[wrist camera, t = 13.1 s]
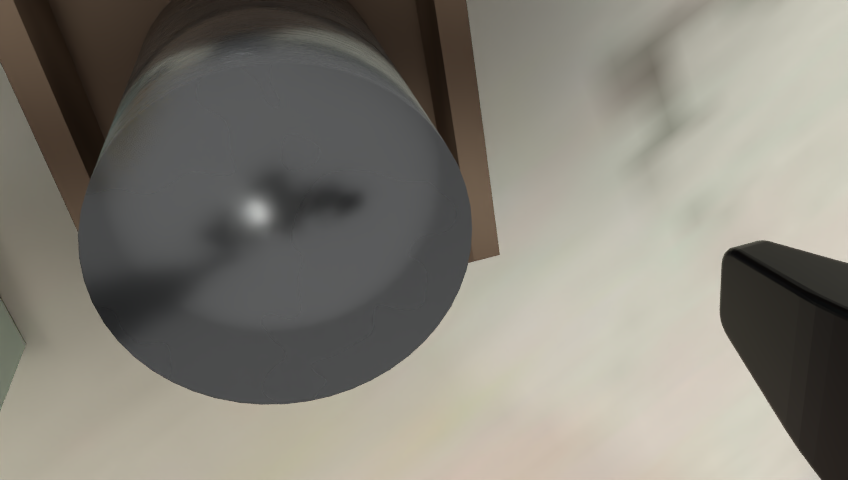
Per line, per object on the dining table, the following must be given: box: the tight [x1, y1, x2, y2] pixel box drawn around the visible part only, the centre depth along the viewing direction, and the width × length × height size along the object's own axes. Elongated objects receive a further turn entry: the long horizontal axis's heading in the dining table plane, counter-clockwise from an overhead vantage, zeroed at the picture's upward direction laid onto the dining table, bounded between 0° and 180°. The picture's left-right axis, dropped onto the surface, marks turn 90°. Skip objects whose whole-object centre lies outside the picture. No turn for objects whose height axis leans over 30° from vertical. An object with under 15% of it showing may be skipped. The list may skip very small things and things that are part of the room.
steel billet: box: [78, 0, 472, 404], centre depth 13 cm, size 5×5×7 cm
